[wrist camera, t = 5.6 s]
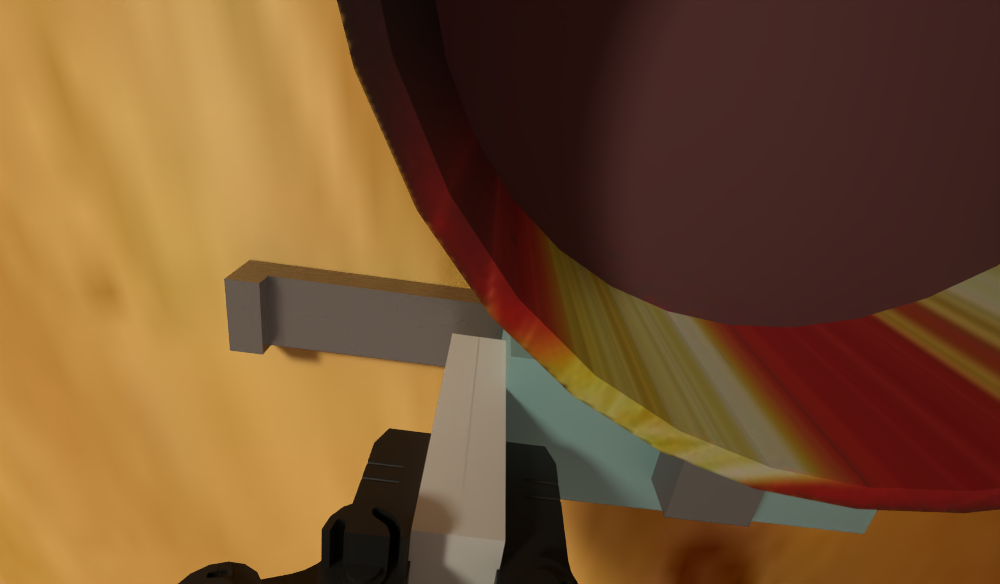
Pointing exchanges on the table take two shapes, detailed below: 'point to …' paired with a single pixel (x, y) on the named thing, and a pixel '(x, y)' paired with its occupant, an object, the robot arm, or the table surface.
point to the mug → (726, 220)
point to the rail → (349, 313)
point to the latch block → (640, 462)
